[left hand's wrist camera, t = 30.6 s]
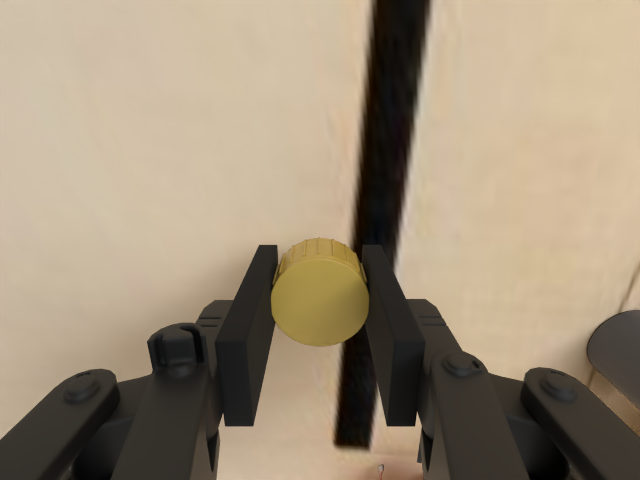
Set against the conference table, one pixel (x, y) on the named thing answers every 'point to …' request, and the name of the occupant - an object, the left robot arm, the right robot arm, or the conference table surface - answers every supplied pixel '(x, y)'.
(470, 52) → the conference table surface
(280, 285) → the cap
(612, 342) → the bottle
